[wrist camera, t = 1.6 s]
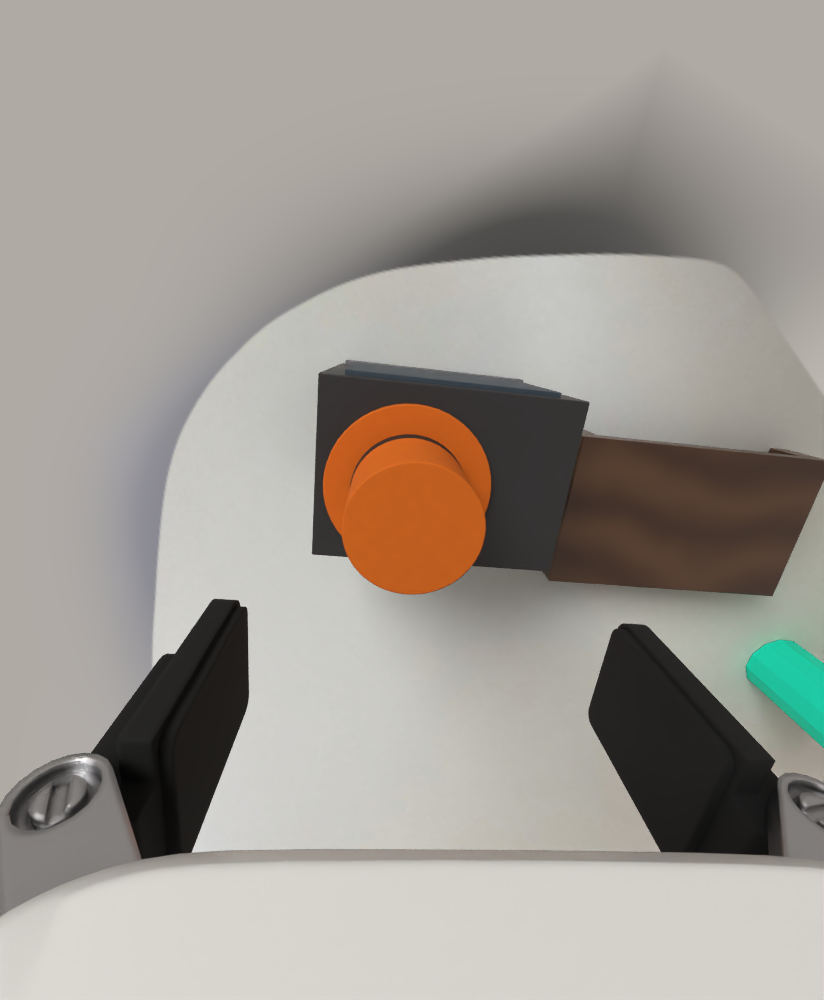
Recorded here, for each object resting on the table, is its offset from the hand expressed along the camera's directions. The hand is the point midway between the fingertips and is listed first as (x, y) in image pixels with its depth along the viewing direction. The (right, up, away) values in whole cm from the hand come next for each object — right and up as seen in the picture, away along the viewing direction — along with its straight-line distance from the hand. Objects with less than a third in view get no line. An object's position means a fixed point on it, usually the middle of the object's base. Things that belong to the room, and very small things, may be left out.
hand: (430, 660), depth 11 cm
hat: (-1, +5, +13) cm, 14 cm away
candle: (+37, -13, +34) cm, 52 cm away
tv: (+1, +9, +24) cm, 26 cm away
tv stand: (+21, +4, +27) cm, 35 cm away
